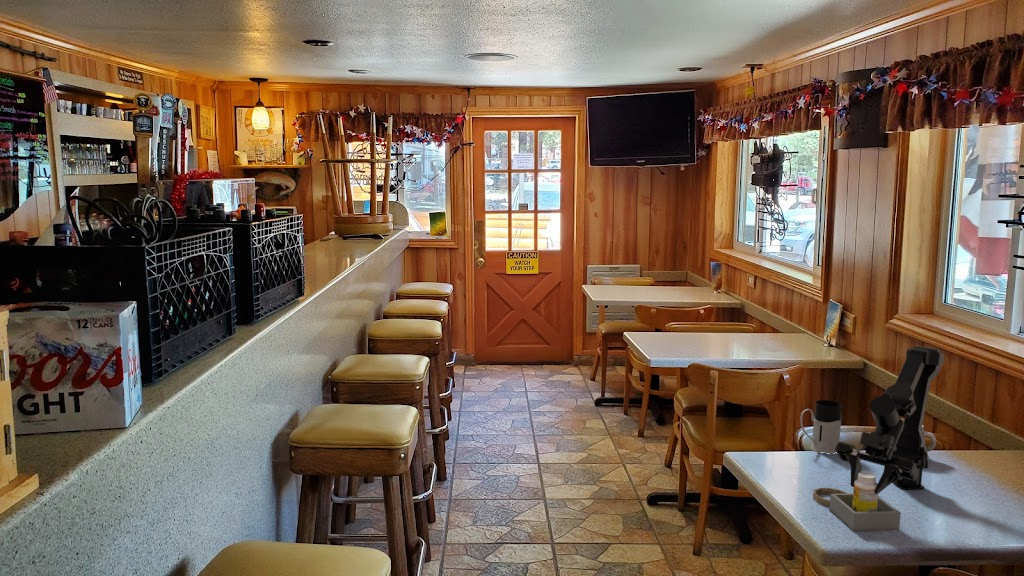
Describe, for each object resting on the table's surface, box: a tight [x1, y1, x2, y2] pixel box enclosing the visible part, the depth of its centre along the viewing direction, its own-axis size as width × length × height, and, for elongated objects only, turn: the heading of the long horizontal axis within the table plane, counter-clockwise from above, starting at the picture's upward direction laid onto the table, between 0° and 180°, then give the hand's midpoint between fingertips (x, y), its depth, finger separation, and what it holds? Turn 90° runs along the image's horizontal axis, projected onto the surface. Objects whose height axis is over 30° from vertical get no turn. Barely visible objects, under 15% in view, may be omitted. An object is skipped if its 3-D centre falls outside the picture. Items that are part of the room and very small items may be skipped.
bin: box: [829, 492, 902, 532], centre depth 187 cm, size 12×12×4 cm
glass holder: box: [799, 399, 843, 454], centre depth 236 cm, size 9×14×15 cm, turn 107°
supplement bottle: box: [852, 471, 879, 512], centre depth 187 cm, size 6×6×10 cm
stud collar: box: [812, 487, 848, 508], centre depth 199 cm, size 9×9×2 cm
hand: (863, 489), depth 186 cm, fingers closed on supplement bottle, 5 cm apart
